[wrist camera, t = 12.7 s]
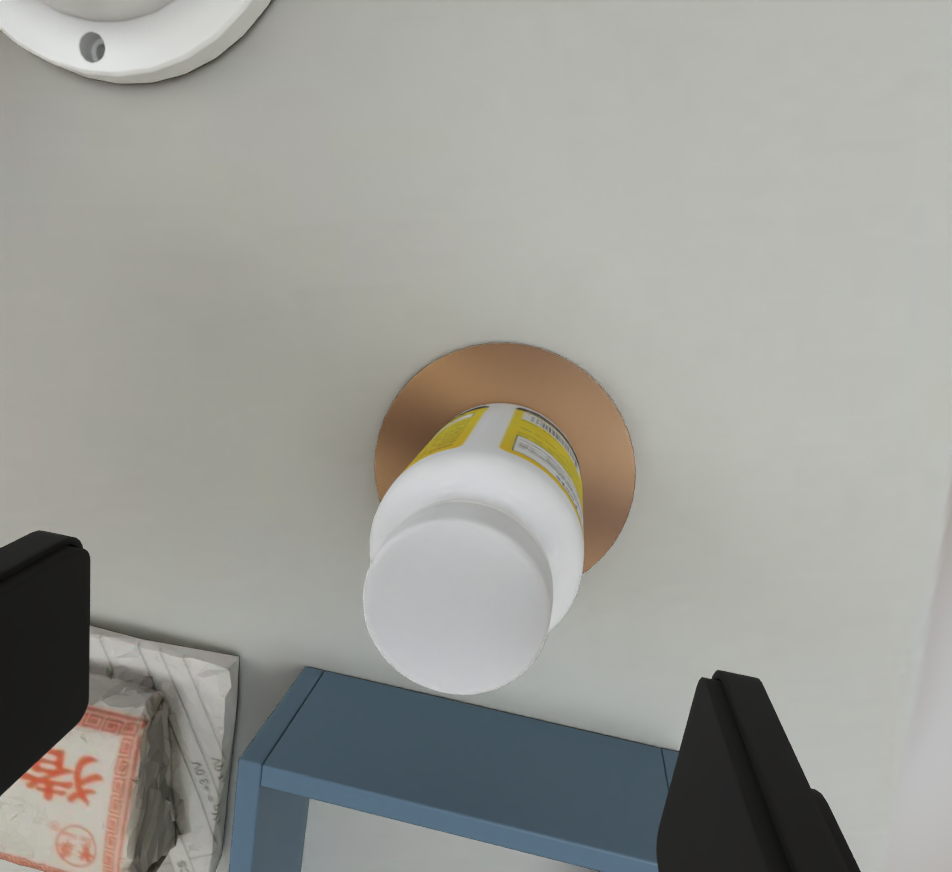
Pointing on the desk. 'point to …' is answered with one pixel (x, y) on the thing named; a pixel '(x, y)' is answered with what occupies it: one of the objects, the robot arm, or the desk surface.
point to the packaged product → (132, 767)
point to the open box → (445, 777)
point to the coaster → (532, 386)
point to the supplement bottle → (476, 551)
